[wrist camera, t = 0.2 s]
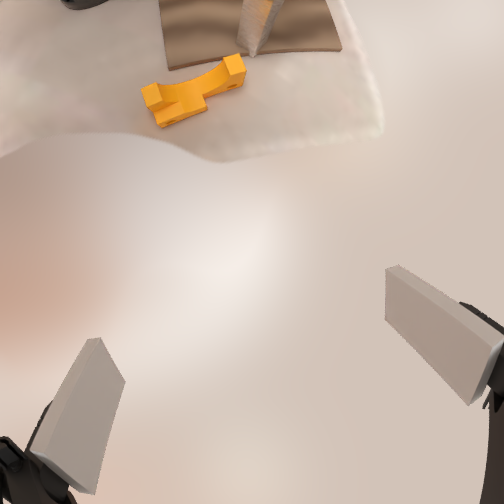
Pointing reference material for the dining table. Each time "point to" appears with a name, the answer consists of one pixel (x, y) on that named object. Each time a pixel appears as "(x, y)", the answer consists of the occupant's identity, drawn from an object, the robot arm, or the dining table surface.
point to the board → (227, 24)
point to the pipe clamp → (193, 91)
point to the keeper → (256, 23)
